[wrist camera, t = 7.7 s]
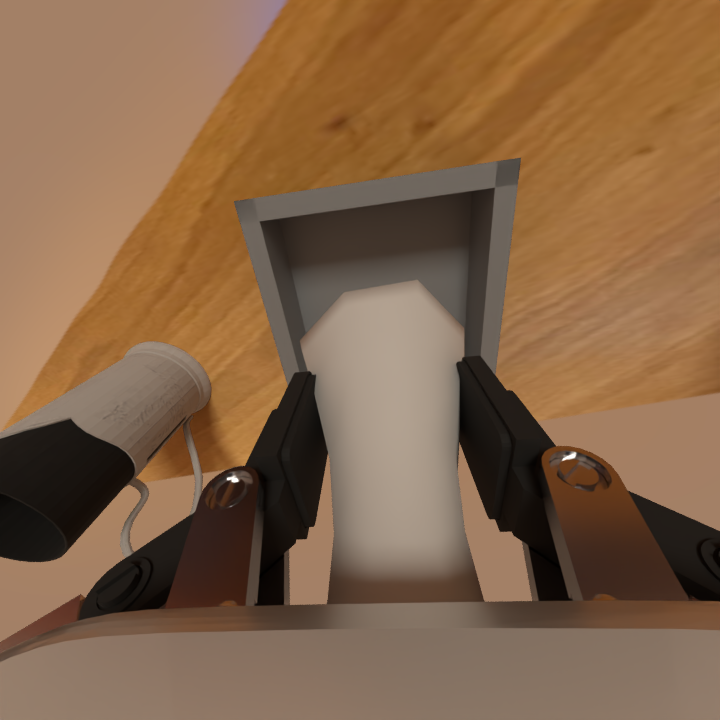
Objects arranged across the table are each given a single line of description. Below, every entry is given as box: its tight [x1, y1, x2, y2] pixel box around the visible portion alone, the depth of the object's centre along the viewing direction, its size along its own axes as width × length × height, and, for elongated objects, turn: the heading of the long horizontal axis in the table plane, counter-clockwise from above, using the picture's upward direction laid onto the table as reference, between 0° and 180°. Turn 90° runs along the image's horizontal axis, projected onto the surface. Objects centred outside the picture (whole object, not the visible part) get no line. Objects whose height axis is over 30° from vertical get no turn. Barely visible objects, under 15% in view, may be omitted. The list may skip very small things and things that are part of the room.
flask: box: [300, 280, 485, 604], centre depth 8 cm, size 7×7×10 cm
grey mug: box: [0, 342, 211, 562], centre depth 23 cm, size 9×14×15 cm, turn 38°
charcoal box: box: [234, 158, 521, 385], centre depth 21 cm, size 16×15×5 cm
